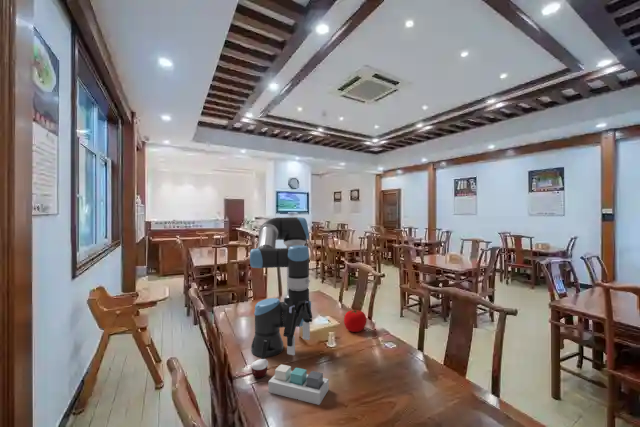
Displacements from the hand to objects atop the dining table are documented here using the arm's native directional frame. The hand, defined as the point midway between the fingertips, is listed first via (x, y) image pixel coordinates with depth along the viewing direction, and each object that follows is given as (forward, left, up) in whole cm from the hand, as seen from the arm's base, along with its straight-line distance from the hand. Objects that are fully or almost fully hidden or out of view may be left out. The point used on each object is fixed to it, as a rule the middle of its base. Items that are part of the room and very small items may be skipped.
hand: (299, 346), depth 111 cm
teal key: (0, 0, -13) cm, 13 cm away
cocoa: (-19, +4, -17) cm, 26 cm away
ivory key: (-7, 0, -13) cm, 15 cm away
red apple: (+5, +61, -17) cm, 63 cm away
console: (0, 0, -16) cm, 16 cm away
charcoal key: (+6, 0, -13) cm, 15 cm away
